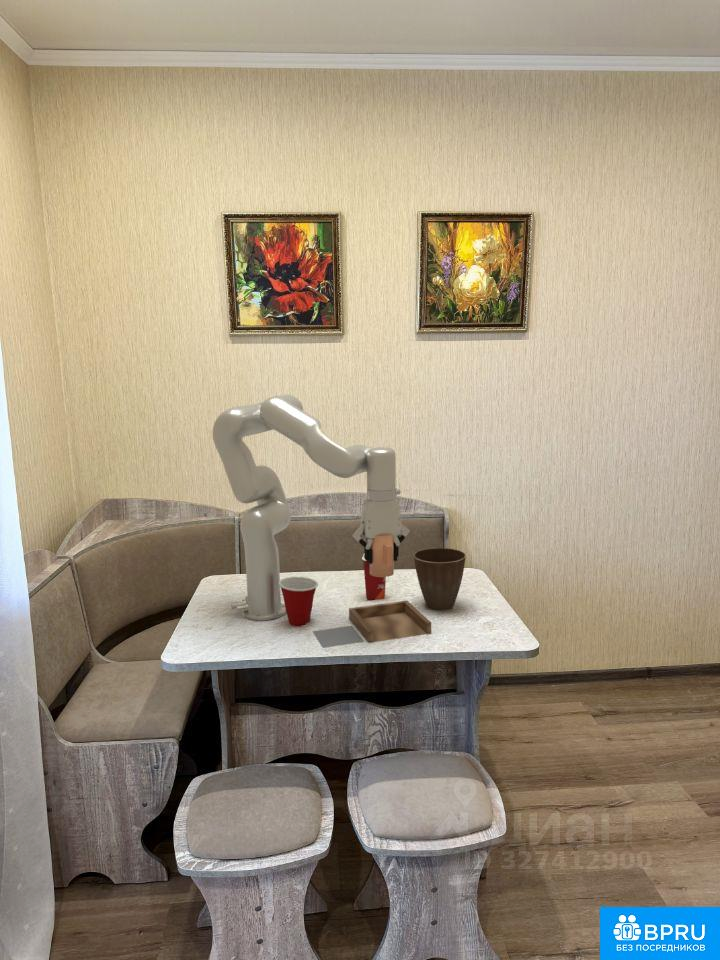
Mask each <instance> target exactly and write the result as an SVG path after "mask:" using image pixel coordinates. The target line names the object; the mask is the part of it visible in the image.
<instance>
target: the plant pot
mask: <svg viewBox="0 0 720 960" xmlns="http://www.w3.org/2000/svg"><path fill="white" fill-rule="evenodd" d="M466 558H467V555H466V553H465V552H463V551H462V550H458V549H455V548H447V547H434V548H433V547H431V548H425V549H420V550H417V551H416V552H414V553H413V560H414V567H415V572H416V576H417V581H418V585H419V589H420V591H421V594H422V597H423V600H424V603H425V605H426V607H427V609H430V610H433V611H439V612H440V611H448V610H452V609H454V606H455V603H456V601H457V598H458V594H459V593H460V592H459V591H460V589H461V586H462V585H461V584H462V580H463V576H464V570H465V565H466Z"/></svg>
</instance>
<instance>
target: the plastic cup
mask: <svg viewBox="0 0 720 960" xmlns="http://www.w3.org/2000/svg"><path fill="white" fill-rule="evenodd" d="M318 583H319V582H318V581H317V580H315V579H313V578H310V577H306V576H290V577H288V576H287V577H285V578H282V579H280V581H279V585H280V591H281V596H282V598H283V602H284V603H283V604H284V605H285V609H286V613H285V614H286V617H287V621H288V623H289V625H290V626H292V627H304V626H307V624H308V623H309V622H310V621H311V615H312V612H313V611H312V610H313V604H314V598H315V597H314V596H315V593H316V589H317V587H319V584H318Z"/></svg>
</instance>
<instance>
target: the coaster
mask: <svg viewBox="0 0 720 960" xmlns="http://www.w3.org/2000/svg"><path fill="white" fill-rule="evenodd" d="M312 633H313V634H314V636H315V638H316V640H317V641H318V643H319V644H320V646H321V648H323V649H325V648H331V647H337V646H344V645H351V644H356V643H357V644H358V643H363V642H365V641H364V639H363V638H362V637H361V634H359V633H358V632H357V629H355V628H354V626H352V625H347V626H341V627H340V626H339V627H333V628H327V629H319V630H313V631H312Z"/></svg>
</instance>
